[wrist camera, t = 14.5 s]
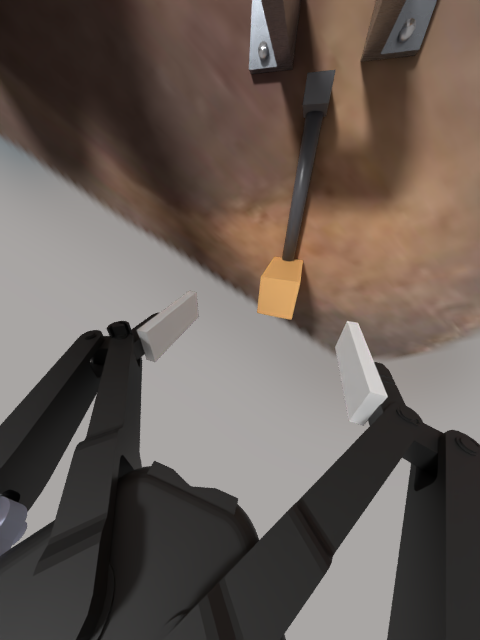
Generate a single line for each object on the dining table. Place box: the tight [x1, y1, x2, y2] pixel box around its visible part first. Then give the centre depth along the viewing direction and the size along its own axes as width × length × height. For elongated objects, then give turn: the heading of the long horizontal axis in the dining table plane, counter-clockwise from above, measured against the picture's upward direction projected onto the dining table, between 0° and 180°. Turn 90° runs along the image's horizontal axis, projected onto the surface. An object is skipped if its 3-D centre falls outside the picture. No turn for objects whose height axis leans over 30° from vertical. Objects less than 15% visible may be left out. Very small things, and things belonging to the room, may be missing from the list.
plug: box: [257, 70, 335, 320], centre depth 22 cm, size 4×24×10 cm, turn 178°
